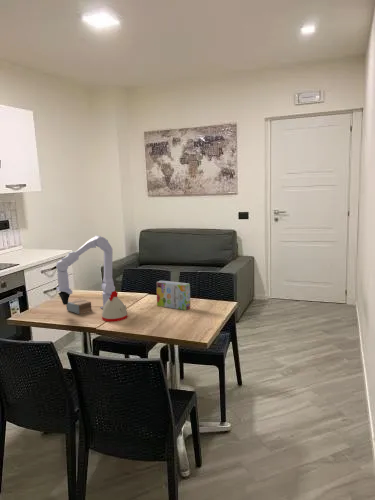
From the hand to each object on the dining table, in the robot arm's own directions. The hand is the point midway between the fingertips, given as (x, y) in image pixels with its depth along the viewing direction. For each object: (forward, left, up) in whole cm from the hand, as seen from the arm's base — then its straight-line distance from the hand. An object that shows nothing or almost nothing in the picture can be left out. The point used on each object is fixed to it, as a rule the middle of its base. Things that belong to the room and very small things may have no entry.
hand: (65, 304), depth 233 cm
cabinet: (+1, -10, -6) cm, 12 cm away
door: (+2, -5, -6) cm, 8 cm away
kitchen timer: (-27, -15, -7) cm, 31 cm away
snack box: (-39, -49, -7) cm, 63 cm away
